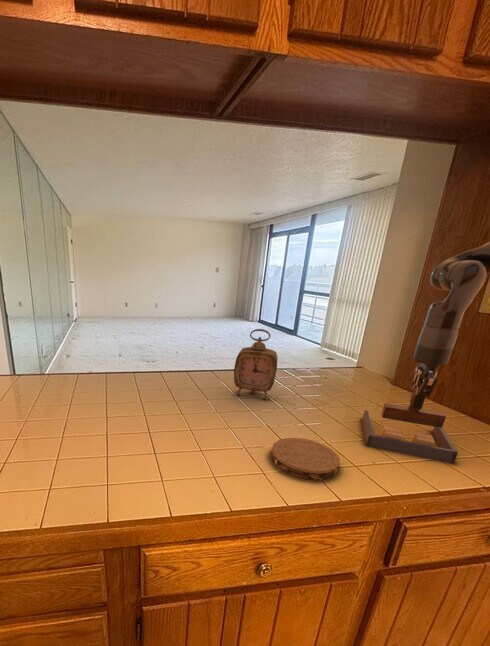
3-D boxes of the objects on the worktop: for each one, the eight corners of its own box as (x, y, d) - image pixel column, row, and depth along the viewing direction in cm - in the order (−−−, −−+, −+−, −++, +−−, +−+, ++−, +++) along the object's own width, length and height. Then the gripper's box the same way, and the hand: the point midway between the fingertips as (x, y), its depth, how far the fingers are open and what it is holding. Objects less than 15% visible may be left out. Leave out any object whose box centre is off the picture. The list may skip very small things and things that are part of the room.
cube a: (380, 439, 100) (384, 426, 99) (396, 442, 99) (400, 429, 97) (381, 445, 97) (385, 432, 96) (398, 448, 96) (402, 435, 94)
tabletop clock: (231, 396, 129) (238, 329, 119) (235, 388, 137) (242, 325, 127) (271, 402, 124) (281, 333, 115) (273, 394, 132) (283, 328, 122)
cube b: (410, 445, 98) (414, 432, 96) (427, 448, 96) (431, 435, 95) (412, 451, 94) (417, 438, 93) (430, 455, 93) (435, 442, 91)
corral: (361, 419, 112) (364, 410, 111) (435, 433, 105) (439, 422, 103) (365, 446, 96) (369, 435, 95) (453, 464, 89) (458, 452, 87)
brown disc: (307, 443, 97) (309, 434, 96) (352, 475, 83) (355, 464, 82) (258, 452, 92) (260, 442, 91) (297, 487, 78) (299, 476, 77)
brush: (382, 417, 98) (391, 386, 94) (381, 413, 101) (389, 383, 97) (441, 428, 93) (454, 395, 89) (439, 423, 95) (450, 391, 92)
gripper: (461, 352, 81) (437, 418, 88) (446, 340, 93) (426, 399, 99) (423, 348, 84) (403, 413, 91) (413, 337, 96) (395, 395, 102)
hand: (415, 405), depth 95 cm, fingers closed on brush, 2 cm apart
